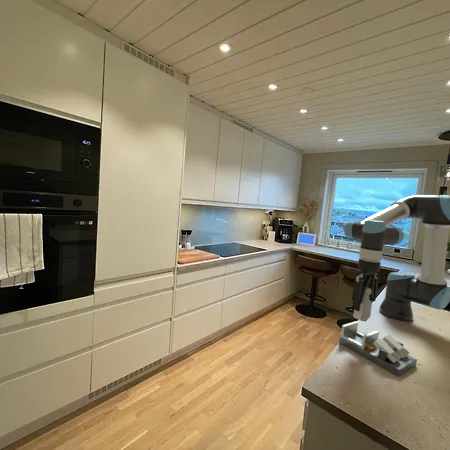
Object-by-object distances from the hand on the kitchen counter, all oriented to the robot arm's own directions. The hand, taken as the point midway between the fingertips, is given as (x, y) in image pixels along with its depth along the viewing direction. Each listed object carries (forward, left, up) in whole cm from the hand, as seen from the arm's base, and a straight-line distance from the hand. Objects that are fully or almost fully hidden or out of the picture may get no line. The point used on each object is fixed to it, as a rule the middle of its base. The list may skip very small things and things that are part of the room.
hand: (361, 316), depth 100 cm
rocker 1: (+1, +11, -7) cm, 13 cm away
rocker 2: (-5, +11, -7) cm, 14 cm away
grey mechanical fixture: (-2, +6, -12) cm, 14 cm away
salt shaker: (0, 0, -1) cm, 1 cm away
